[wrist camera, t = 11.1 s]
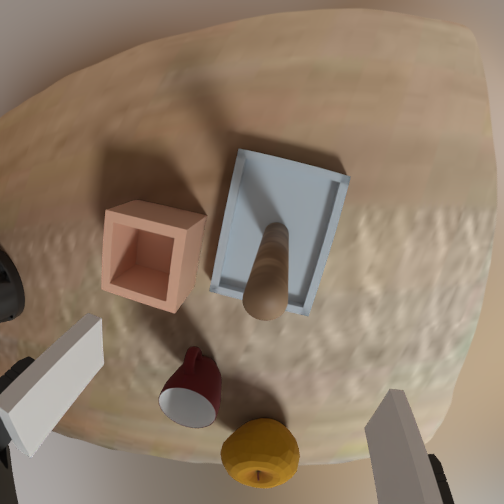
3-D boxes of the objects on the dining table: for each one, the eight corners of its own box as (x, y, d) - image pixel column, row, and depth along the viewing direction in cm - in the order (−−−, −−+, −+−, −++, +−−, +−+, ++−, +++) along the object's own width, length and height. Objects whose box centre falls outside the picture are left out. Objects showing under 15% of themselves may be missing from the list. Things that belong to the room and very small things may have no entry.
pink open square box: (130, 267, 42) (101, 289, 35) (137, 199, 39) (105, 209, 32) (194, 286, 42) (174, 313, 34) (207, 215, 39) (187, 229, 31)
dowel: (261, 243, 38) (238, 314, 21) (267, 219, 37) (247, 274, 20) (285, 249, 38) (281, 324, 21) (291, 225, 37) (293, 285, 20)
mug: (171, 330, 45) (145, 370, 35) (222, 330, 43) (205, 373, 34) (186, 383, 48) (167, 425, 38) (233, 385, 46) (221, 430, 37)
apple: (265, 456, 52) (258, 502, 41) (214, 425, 50) (200, 472, 39) (315, 430, 48) (316, 480, 37) (264, 394, 46) (256, 448, 36)
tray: (307, 308, 41) (308, 316, 39) (213, 284, 42) (209, 291, 39) (347, 175, 35) (350, 176, 33) (241, 148, 36) (238, 148, 34)
